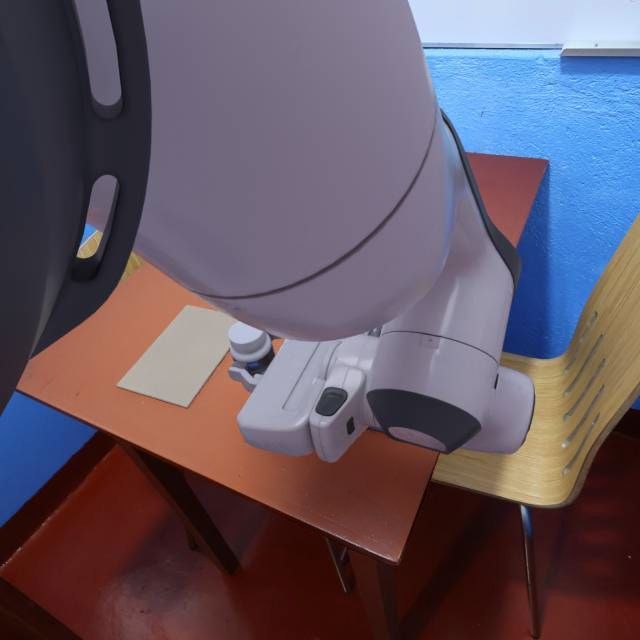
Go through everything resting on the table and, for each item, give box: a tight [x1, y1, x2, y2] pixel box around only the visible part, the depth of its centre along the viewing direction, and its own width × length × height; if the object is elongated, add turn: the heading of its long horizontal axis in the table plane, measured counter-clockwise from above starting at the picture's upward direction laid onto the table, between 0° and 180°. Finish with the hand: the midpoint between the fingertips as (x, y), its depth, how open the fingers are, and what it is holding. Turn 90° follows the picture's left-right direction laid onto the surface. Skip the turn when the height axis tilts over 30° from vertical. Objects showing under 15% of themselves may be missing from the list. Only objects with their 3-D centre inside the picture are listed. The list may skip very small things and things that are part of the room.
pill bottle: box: [228, 321, 276, 394], centre depth 54 cm, size 5×5×8 cm
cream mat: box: [115, 304, 238, 409], centre depth 79 cm, size 20×14×1 cm
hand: (245, 350), depth 53 cm, fingers closed on pill bottle, 5 cm apart
